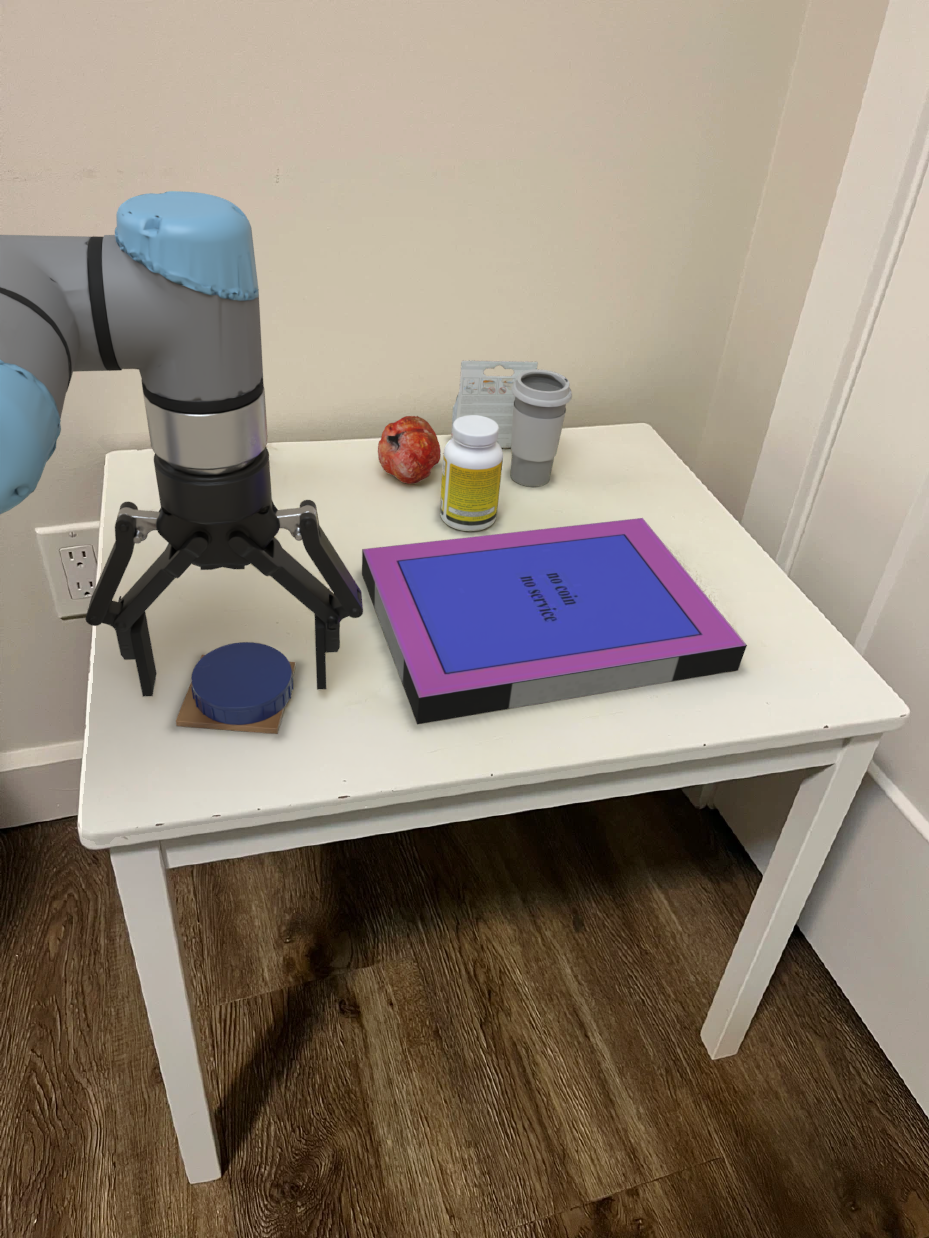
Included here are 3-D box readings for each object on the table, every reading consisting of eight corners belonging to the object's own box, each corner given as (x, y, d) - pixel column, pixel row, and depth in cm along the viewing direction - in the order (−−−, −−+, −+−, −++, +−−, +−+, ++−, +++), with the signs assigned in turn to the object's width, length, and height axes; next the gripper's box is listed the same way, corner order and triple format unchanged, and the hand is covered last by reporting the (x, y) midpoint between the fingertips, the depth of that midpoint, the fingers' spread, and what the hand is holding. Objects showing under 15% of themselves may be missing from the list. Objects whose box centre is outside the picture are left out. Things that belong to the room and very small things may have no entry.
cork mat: (176, 726, 72) (175, 720, 72) (202, 659, 78) (201, 654, 78) (277, 734, 72) (277, 728, 72) (295, 667, 78) (295, 661, 78)
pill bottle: (507, 524, 98) (519, 431, 92) (460, 539, 96) (468, 444, 89) (474, 497, 102) (483, 406, 95) (428, 511, 99) (433, 418, 92)
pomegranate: (400, 472, 110) (346, 444, 102) (437, 422, 108) (384, 390, 100) (435, 506, 106) (381, 480, 98) (473, 455, 104) (422, 424, 96)
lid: (301, 662, 78) (300, 645, 77) (282, 729, 72) (281, 712, 71) (207, 654, 78) (205, 637, 77) (181, 721, 72) (178, 703, 70)
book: (362, 549, 88) (642, 517, 96) (361, 574, 89) (637, 541, 98) (418, 697, 72) (746, 645, 80) (417, 724, 74) (738, 670, 82)
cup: (566, 491, 105) (582, 394, 97) (510, 494, 103) (523, 395, 96) (547, 460, 110) (562, 366, 103) (494, 463, 109) (505, 367, 101)
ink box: (449, 439, 113) (455, 350, 105) (523, 439, 114) (534, 351, 107) (452, 450, 110) (459, 360, 103) (527, 450, 112) (539, 361, 105)
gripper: (393, 423, 66) (386, 646, 79) (25, 421, 62) (83, 656, 75) (402, 475, 60) (393, 707, 73) (-3, 477, 56) (66, 721, 69)
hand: (236, 681), depth 74 cm, fingers open, 13 cm apart
